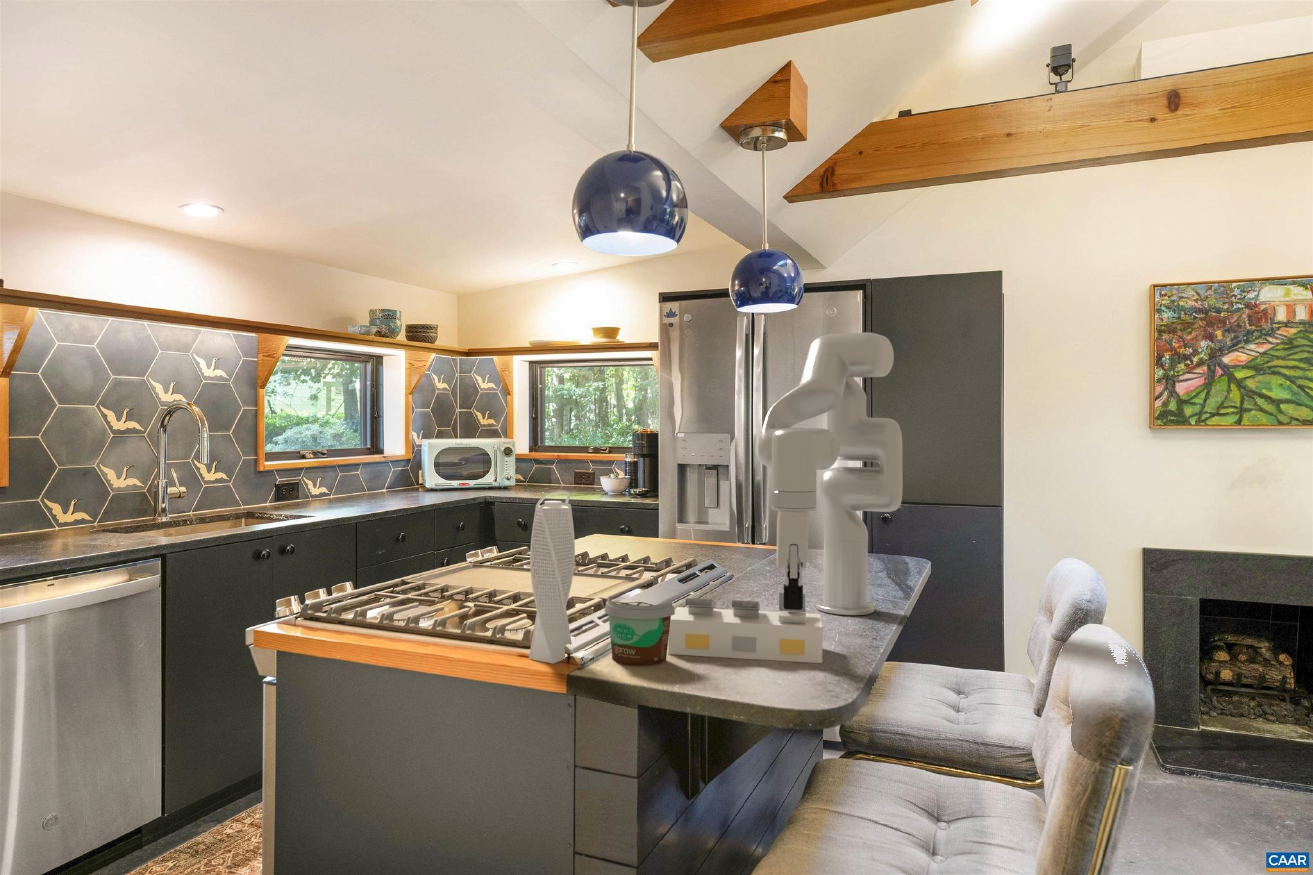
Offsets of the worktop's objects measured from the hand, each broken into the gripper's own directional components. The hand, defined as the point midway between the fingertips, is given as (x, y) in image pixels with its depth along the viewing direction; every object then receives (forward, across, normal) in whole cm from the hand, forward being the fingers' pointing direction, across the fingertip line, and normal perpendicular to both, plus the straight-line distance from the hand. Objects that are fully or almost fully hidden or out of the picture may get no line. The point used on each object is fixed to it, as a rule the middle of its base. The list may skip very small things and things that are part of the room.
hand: (793, 608), depth 129 cm
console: (+8, -3, -8) cm, 12 cm away
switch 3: (0, -3, 0) cm, 3 cm away
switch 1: (0, -3, -16) cm, 16 cm away
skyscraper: (+8, +8, -40) cm, 42 cm away
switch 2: (0, -3, -8) cm, 9 cm away
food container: (+8, +8, -26) cm, 29 cm away
